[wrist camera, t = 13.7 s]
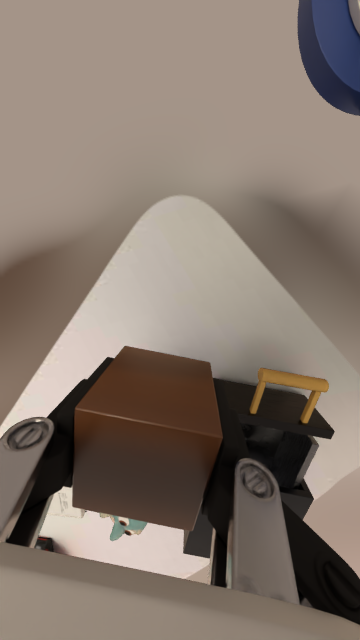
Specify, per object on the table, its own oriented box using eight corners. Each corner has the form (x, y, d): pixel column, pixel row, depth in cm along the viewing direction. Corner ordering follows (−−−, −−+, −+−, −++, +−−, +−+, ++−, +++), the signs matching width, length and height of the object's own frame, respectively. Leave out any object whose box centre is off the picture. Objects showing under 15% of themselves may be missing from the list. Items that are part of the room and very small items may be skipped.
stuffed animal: (64, 511, 32) (127, 522, 28) (93, 466, 38) (147, 470, 34) (89, 552, 34) (149, 567, 31) (111, 504, 41) (163, 511, 37)
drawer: (228, 343, 26) (239, 367, 20) (319, 359, 26) (356, 388, 20) (199, 454, 32) (201, 498, 26) (273, 467, 32) (292, 515, 26)
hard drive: (20, 474, 38) (82, 481, 37) (27, 503, 40) (86, 510, 40) (12, 483, 36) (77, 490, 36) (20, 512, 39) (81, 520, 38)
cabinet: (201, 425, 32) (204, 478, 24) (284, 440, 32) (314, 498, 24) (185, 491, 36) (183, 553, 28) (257, 504, 36) (275, 571, 28)
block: (124, 344, 10) (73, 407, 6) (210, 361, 10) (224, 437, 6) (117, 414, 11) (70, 507, 7) (193, 429, 11) (193, 533, 7)
